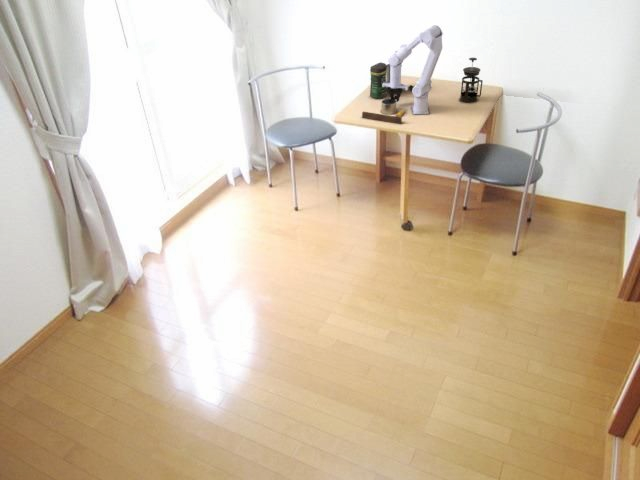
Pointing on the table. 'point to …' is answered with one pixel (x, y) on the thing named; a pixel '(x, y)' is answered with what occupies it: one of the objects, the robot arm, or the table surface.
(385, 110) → the steel pot
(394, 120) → the walnut rail
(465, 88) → the french press
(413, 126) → the table surface
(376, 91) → the coffee jar
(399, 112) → the knife
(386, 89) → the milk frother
